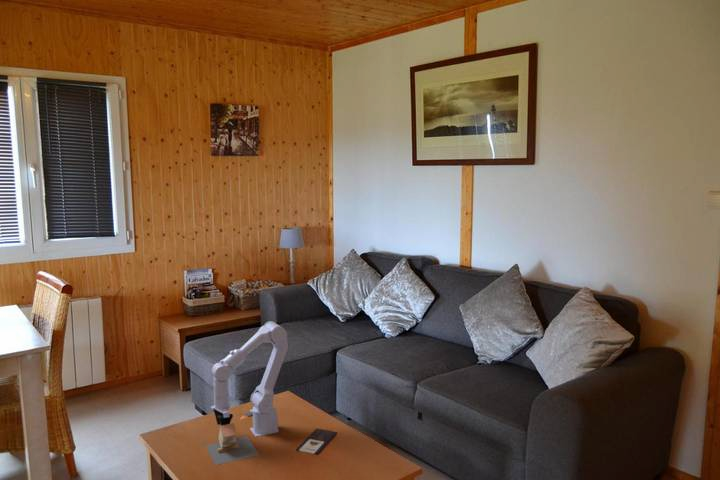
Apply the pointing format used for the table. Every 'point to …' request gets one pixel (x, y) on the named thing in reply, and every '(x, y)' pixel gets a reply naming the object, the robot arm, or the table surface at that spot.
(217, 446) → the rubber mat
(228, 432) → the birch block
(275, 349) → the robot arm
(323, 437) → the chocolate bar
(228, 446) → the stop strip
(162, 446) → the table surface
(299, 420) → the table surface
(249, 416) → the key chain
